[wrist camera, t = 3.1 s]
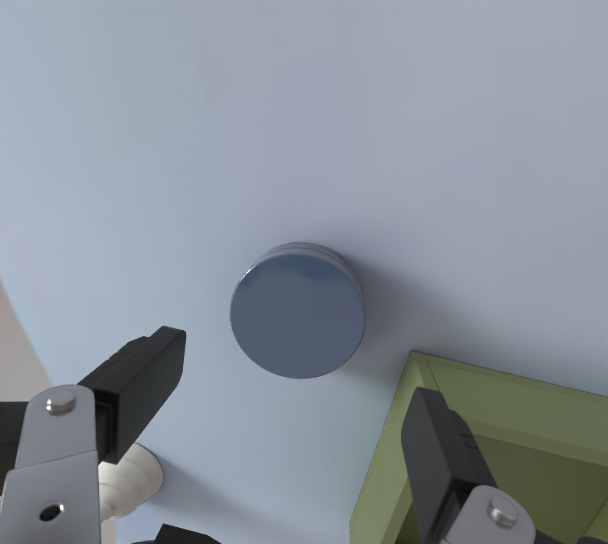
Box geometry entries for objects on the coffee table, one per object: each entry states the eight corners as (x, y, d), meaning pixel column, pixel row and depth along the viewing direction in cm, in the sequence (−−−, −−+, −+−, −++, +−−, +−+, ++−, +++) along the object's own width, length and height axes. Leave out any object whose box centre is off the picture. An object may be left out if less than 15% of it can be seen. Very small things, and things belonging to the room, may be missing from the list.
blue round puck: (235, 339, 19) (221, 362, 17) (253, 229, 17) (239, 239, 15) (345, 365, 19) (346, 392, 17) (376, 258, 17) (382, 272, 15)
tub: (349, 523, 23) (351, 614, 18) (410, 349, 19) (433, 410, 14) (551, 575, 22) (606, 681, 18) (661, 409, 18) (769, 491, 14)
